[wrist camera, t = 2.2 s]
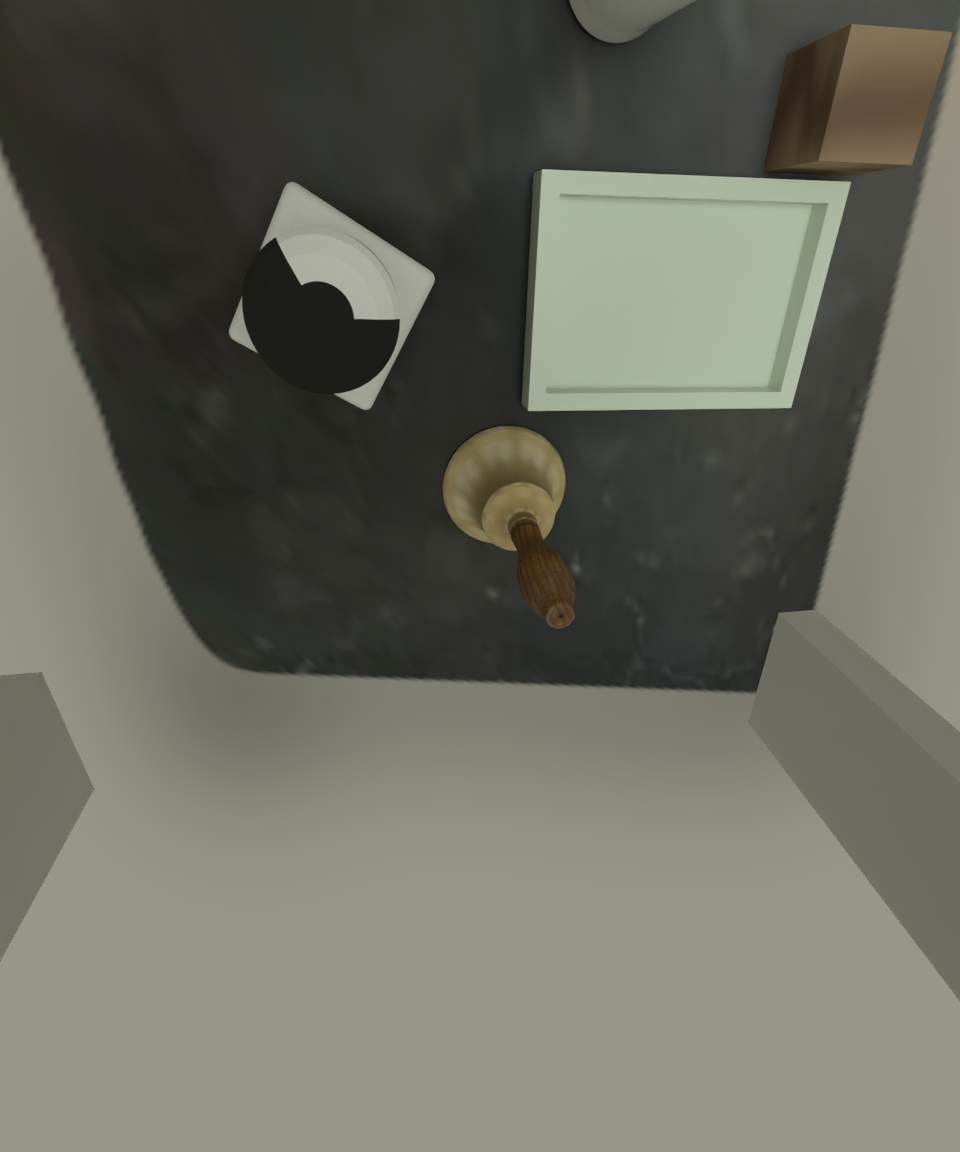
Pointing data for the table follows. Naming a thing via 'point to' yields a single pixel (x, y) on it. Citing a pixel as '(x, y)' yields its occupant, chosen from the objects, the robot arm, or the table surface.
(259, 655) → the table surface
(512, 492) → the hand bell
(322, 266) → the medicine bottle
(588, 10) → the drinking glass
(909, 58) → the walnut block
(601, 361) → the tray
